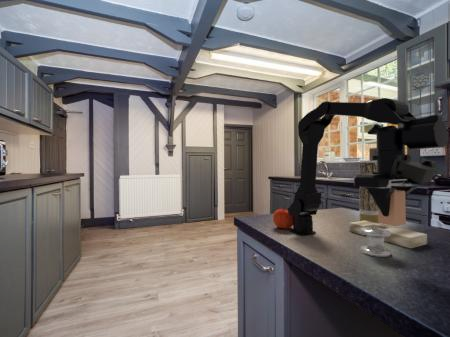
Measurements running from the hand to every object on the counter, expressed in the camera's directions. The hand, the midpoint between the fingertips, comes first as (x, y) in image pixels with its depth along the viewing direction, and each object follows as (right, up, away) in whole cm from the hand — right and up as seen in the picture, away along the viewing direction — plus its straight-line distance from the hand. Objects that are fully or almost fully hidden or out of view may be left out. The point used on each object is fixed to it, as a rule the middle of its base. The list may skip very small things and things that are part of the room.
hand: (391, 215), depth 60 cm
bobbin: (0, -11, +7) cm, 13 cm away
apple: (-18, -11, +34) cm, 40 cm away
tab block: (0, -2, 0) cm, 2 cm away
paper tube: (+17, -11, +38) cm, 43 cm away
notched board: (+12, -11, +21) cm, 26 cm away
